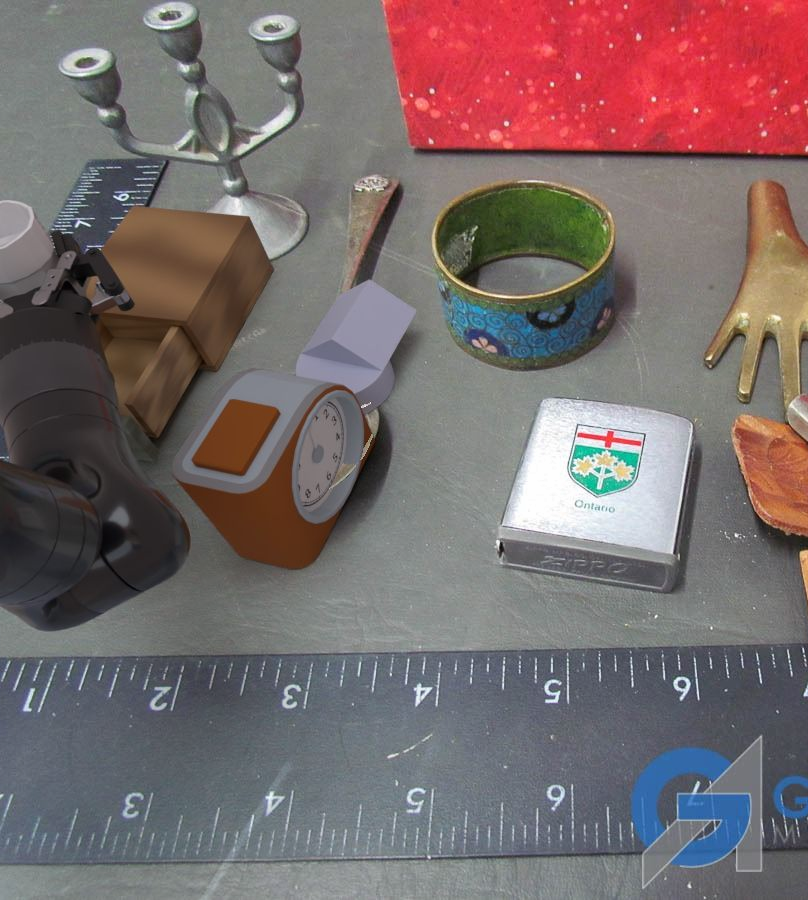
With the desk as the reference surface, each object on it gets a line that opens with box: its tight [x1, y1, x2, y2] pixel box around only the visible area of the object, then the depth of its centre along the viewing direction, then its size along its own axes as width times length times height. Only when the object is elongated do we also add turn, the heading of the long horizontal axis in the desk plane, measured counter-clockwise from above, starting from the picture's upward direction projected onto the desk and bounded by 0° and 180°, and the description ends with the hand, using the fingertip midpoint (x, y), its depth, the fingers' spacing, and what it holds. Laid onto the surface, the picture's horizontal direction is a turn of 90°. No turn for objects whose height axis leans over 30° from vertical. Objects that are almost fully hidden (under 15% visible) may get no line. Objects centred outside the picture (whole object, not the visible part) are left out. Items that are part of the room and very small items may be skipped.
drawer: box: [96, 317, 203, 463], centre depth 80 cm, size 16×12×6 cm
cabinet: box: [86, 205, 275, 372], centre depth 88 cm, size 16×14×8 cm
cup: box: [0, 199, 60, 303], centre depth 68 cm, size 7×7×11 cm
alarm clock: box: [171, 367, 376, 570], centre depth 71 cm, size 15×8×14 cm, turn 166°
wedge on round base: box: [295, 279, 418, 415], centre depth 83 cm, size 9×7×13 cm
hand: (19, 254), depth 69 cm, fingers closed on cup, 6 cm apart
